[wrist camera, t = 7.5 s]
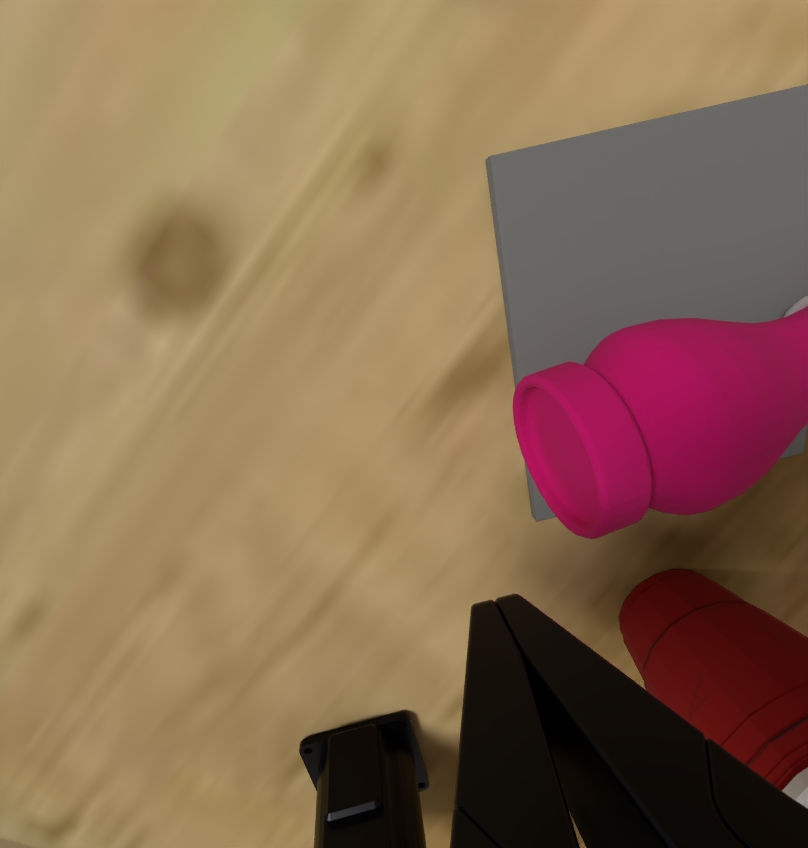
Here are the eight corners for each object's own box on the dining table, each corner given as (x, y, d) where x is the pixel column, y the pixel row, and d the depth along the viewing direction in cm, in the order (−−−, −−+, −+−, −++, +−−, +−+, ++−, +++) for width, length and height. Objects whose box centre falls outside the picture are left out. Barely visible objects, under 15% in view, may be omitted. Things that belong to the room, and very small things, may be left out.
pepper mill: (649, 550, 12) (1228, 320, 14) (534, 324, 14) (1051, 151, 16) (562, 556, 19) (957, 402, 21) (493, 404, 21) (858, 276, 23)
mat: (793, 448, 23) (804, 452, 23) (532, 515, 23) (536, 521, 22) (832, 81, 18) (848, 75, 17) (485, 159, 17) (490, 156, 16)
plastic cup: (772, 513, 25) (1129, 724, 13) (734, 662, 28) (988, 925, 17) (582, 537, 24) (794, 787, 12) (569, 689, 27) (722, 985, 16)
